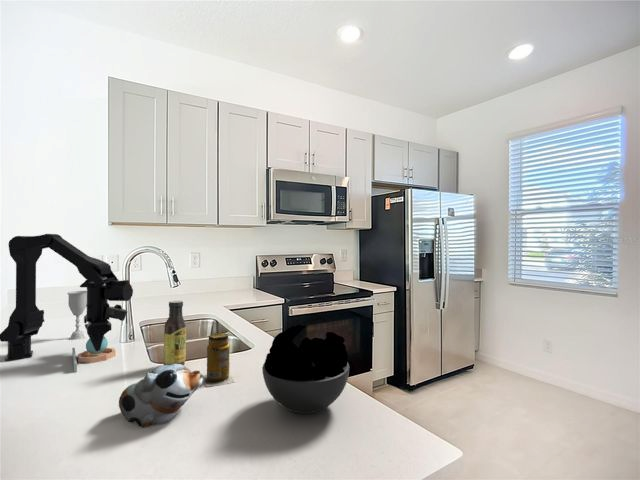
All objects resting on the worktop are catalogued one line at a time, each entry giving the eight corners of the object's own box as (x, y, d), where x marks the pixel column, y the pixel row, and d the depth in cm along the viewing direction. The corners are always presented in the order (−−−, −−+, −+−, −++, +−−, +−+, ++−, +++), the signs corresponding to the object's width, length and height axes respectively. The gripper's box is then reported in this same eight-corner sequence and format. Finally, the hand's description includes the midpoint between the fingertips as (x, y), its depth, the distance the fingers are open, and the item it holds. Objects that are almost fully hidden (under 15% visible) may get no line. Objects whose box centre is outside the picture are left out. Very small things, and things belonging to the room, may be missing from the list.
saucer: (77, 356, 109) (77, 351, 109) (112, 350, 116) (112, 345, 116) (78, 365, 102) (78, 360, 102) (116, 358, 108) (116, 353, 108)
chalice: (62, 338, 129) (62, 292, 129) (80, 334, 135) (80, 290, 135) (74, 341, 126) (74, 293, 126) (92, 336, 132) (92, 291, 132)
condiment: (228, 371, 97) (228, 330, 98) (234, 382, 90) (234, 338, 90) (202, 375, 94) (202, 333, 94) (206, 387, 87) (206, 342, 87)
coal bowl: (250, 399, 80) (251, 322, 80) (322, 382, 90) (322, 313, 90) (282, 443, 63) (283, 344, 63) (367, 416, 73) (367, 331, 73)
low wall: (72, 355, 110) (72, 347, 110) (74, 355, 111) (74, 347, 111) (74, 372, 96) (74, 363, 96) (76, 371, 96) (76, 363, 97)
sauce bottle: (177, 371, 97) (177, 303, 97) (158, 369, 98) (158, 303, 99) (190, 363, 104) (190, 300, 104) (172, 361, 105) (172, 299, 105)
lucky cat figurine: (177, 392, 83) (202, 346, 82) (190, 431, 75) (217, 380, 73) (112, 393, 73) (138, 341, 72) (117, 439, 65) (148, 380, 63)
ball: (85, 353, 109) (85, 334, 109) (106, 349, 113) (106, 331, 113) (86, 358, 104) (86, 339, 104) (108, 354, 108) (108, 335, 108)
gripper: (130, 302, 106) (129, 350, 106) (121, 294, 121) (120, 337, 121) (87, 306, 100) (87, 358, 99) (84, 297, 114) (83, 342, 114)
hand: (96, 348), depth 109 cm, fingers open, 6 cm apart
